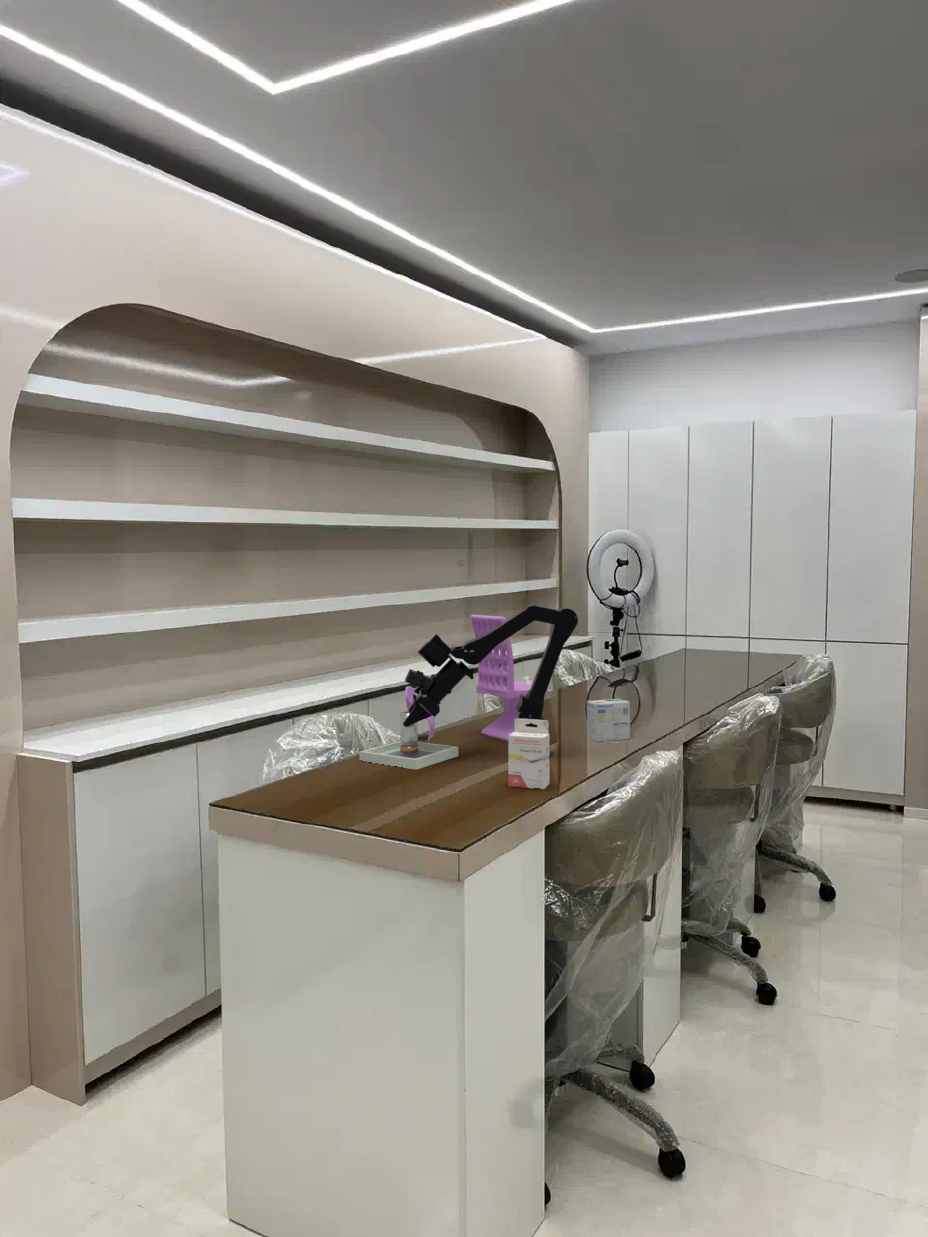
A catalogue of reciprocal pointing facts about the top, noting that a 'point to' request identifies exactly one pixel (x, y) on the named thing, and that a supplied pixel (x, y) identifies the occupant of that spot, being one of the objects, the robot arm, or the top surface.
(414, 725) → the metal sleeve
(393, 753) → the sage tray
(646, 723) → the top surface
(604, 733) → the light bulb box
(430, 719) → the toy chair
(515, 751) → the ink cartridge box
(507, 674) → the earring display
